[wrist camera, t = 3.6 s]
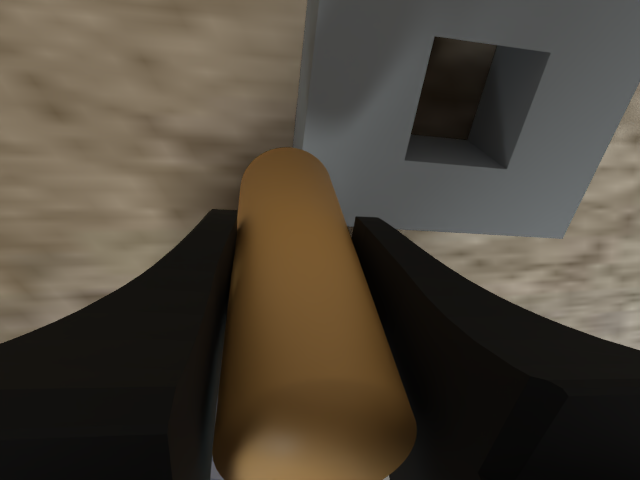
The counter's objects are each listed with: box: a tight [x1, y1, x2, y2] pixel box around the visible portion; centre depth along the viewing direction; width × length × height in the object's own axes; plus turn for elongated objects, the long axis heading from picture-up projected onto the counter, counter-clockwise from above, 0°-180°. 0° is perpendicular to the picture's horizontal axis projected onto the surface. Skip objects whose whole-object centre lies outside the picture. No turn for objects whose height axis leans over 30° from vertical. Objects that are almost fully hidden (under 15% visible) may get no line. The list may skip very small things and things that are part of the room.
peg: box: [212, 147, 417, 480], centre depth 10 cm, size 3×3×9 cm
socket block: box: [293, 0, 640, 239], centre depth 18 cm, size 11×13×4 cm
